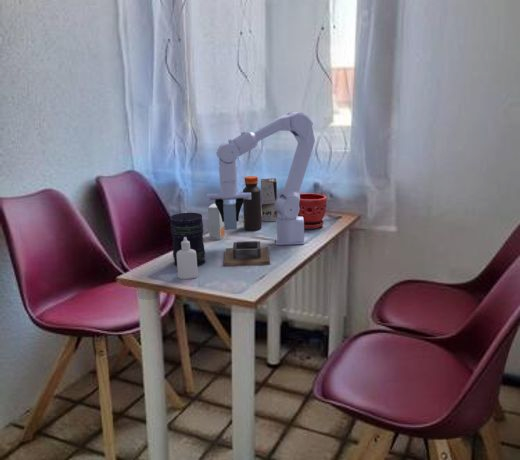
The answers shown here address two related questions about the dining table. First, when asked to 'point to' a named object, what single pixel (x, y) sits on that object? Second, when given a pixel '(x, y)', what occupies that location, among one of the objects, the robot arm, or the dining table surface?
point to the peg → (230, 216)
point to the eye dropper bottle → (186, 261)
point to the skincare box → (215, 223)
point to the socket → (246, 254)
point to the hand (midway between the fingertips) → (230, 220)
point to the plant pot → (312, 209)
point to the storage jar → (188, 234)
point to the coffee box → (268, 199)
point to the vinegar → (252, 205)
